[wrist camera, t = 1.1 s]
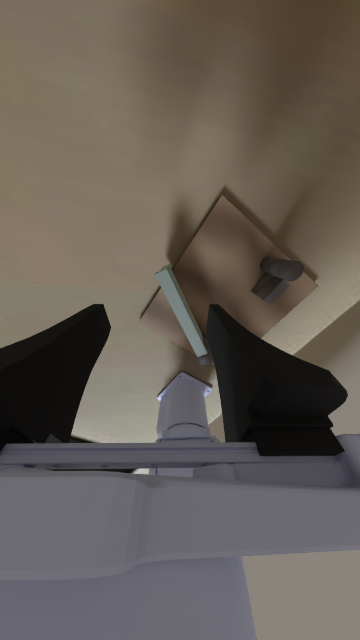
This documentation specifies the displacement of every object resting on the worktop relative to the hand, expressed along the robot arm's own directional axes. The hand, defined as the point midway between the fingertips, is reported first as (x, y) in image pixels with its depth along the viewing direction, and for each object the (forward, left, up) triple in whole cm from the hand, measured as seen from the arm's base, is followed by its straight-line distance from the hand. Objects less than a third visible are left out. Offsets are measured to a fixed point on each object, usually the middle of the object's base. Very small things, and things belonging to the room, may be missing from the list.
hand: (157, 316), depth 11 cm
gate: (-2, -4, -12) cm, 13 cm away
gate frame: (+1, -9, -13) cm, 16 cm away
